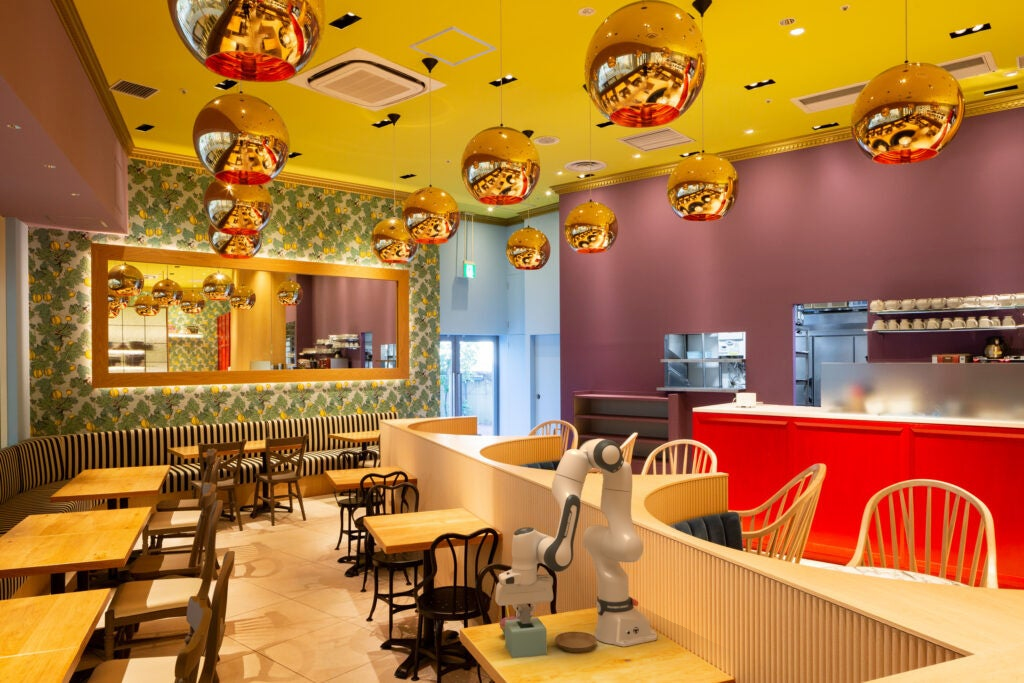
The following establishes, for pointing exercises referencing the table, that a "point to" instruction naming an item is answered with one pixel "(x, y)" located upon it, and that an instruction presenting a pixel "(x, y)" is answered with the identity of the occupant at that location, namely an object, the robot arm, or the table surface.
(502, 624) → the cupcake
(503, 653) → the table surface
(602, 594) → the robot arm
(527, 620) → the block
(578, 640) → the plant saucer
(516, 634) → the coin box
